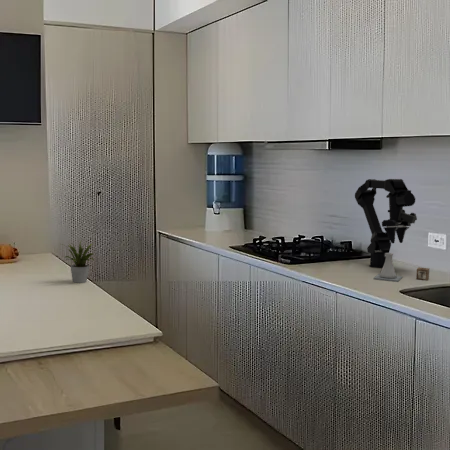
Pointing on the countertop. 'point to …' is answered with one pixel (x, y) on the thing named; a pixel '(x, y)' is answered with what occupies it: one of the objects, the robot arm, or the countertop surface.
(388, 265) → the flask
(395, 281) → the grey coaster
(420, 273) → the letter cube
